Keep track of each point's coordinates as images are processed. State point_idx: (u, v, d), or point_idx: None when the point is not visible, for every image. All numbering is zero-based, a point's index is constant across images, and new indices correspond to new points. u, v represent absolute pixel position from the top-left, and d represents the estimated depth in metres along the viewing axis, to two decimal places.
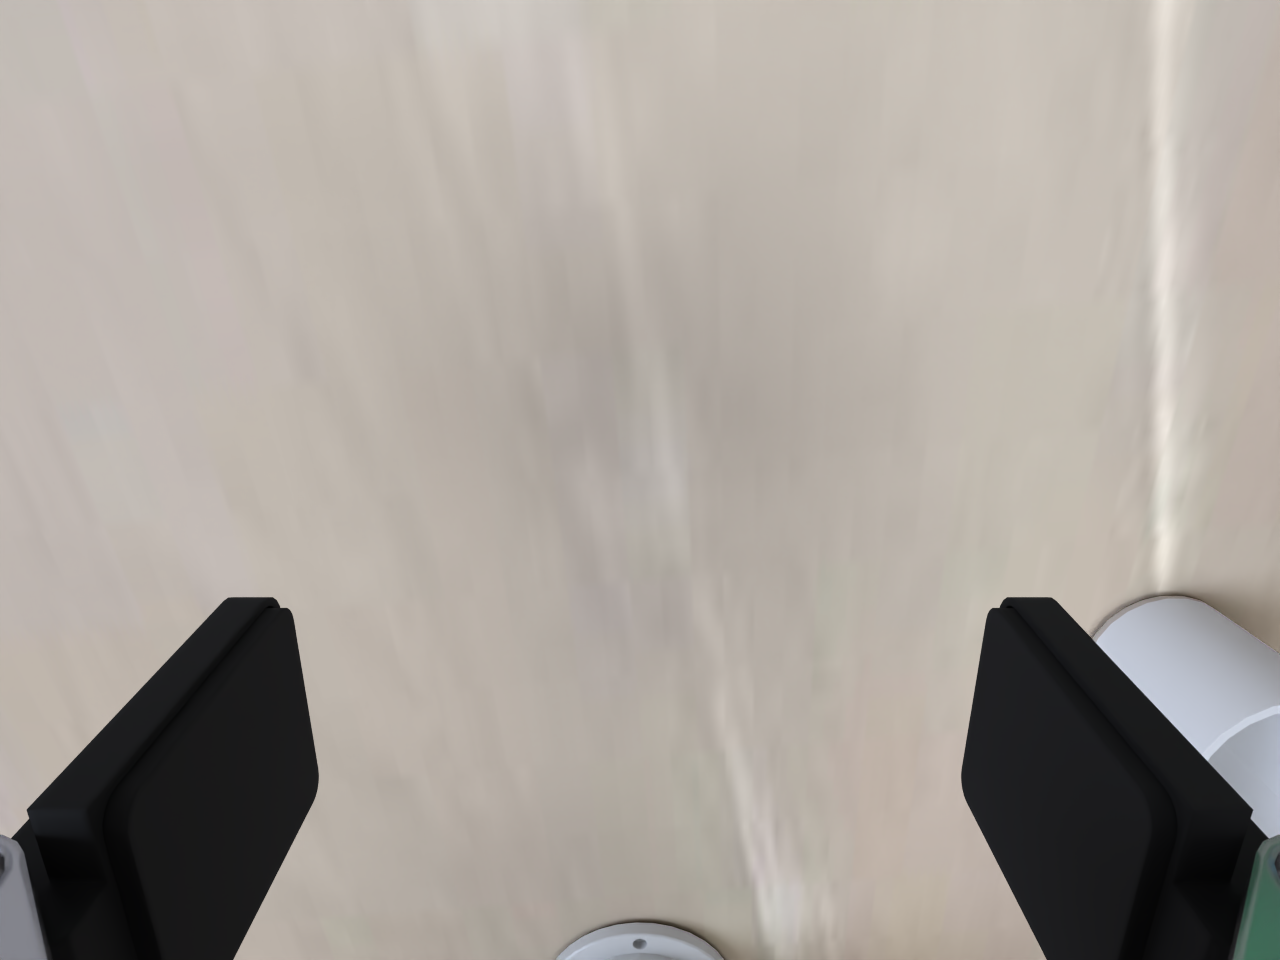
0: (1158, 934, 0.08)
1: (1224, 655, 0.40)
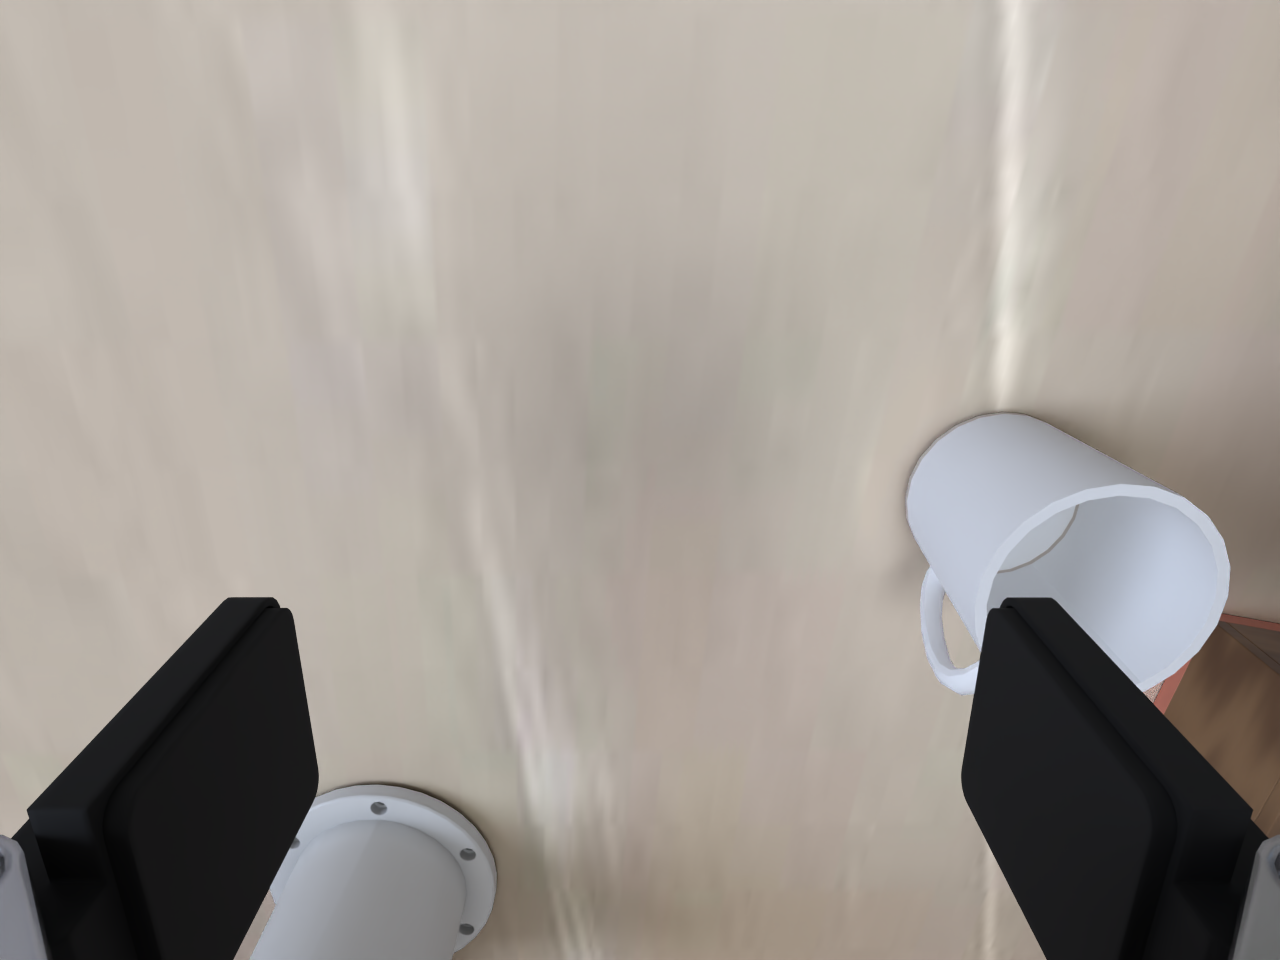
0: (1159, 934, 0.08)
1: (1048, 452, 0.32)
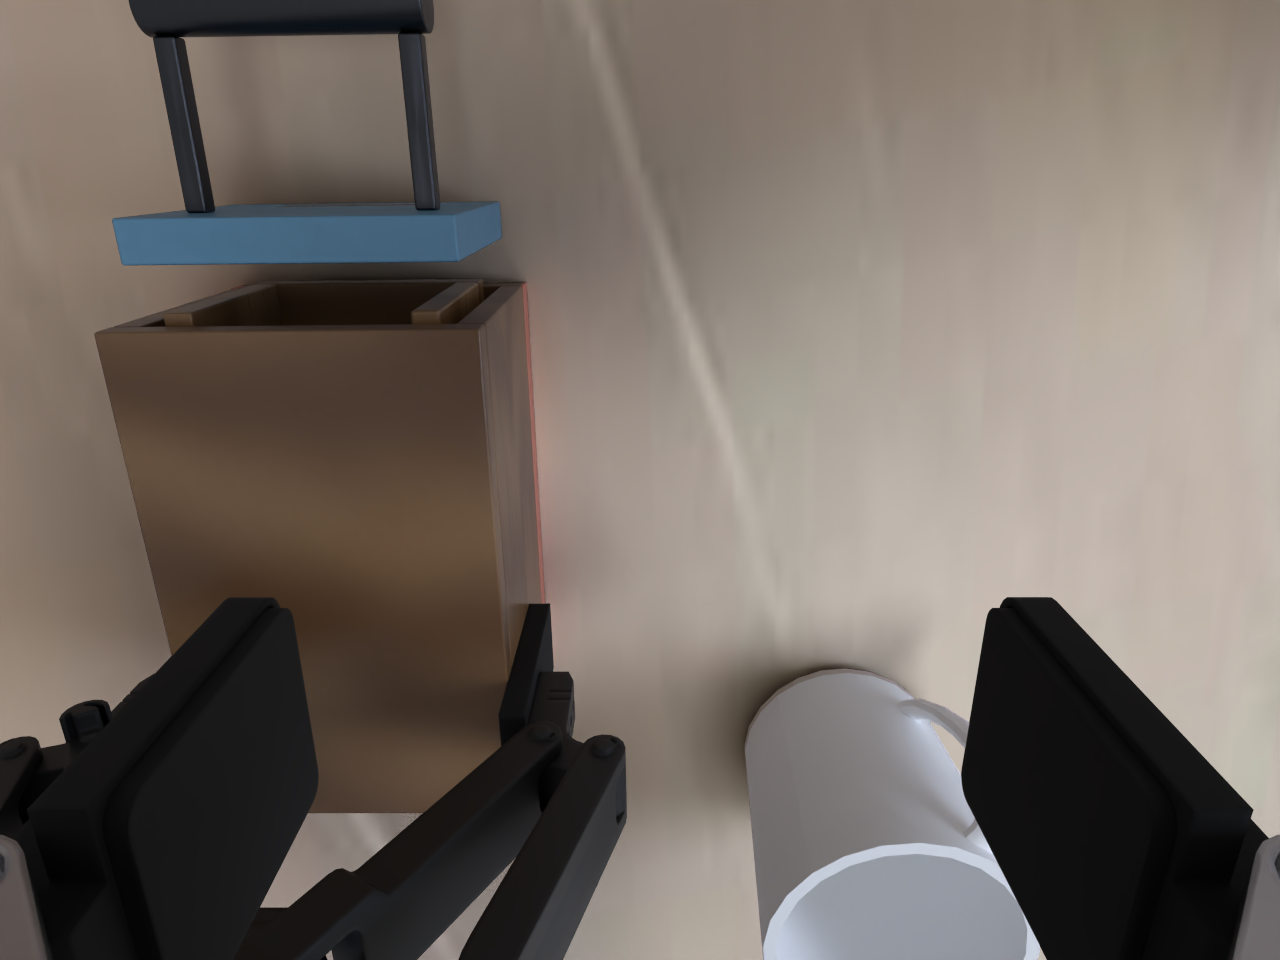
0: (1158, 934, 0.08)
1: None
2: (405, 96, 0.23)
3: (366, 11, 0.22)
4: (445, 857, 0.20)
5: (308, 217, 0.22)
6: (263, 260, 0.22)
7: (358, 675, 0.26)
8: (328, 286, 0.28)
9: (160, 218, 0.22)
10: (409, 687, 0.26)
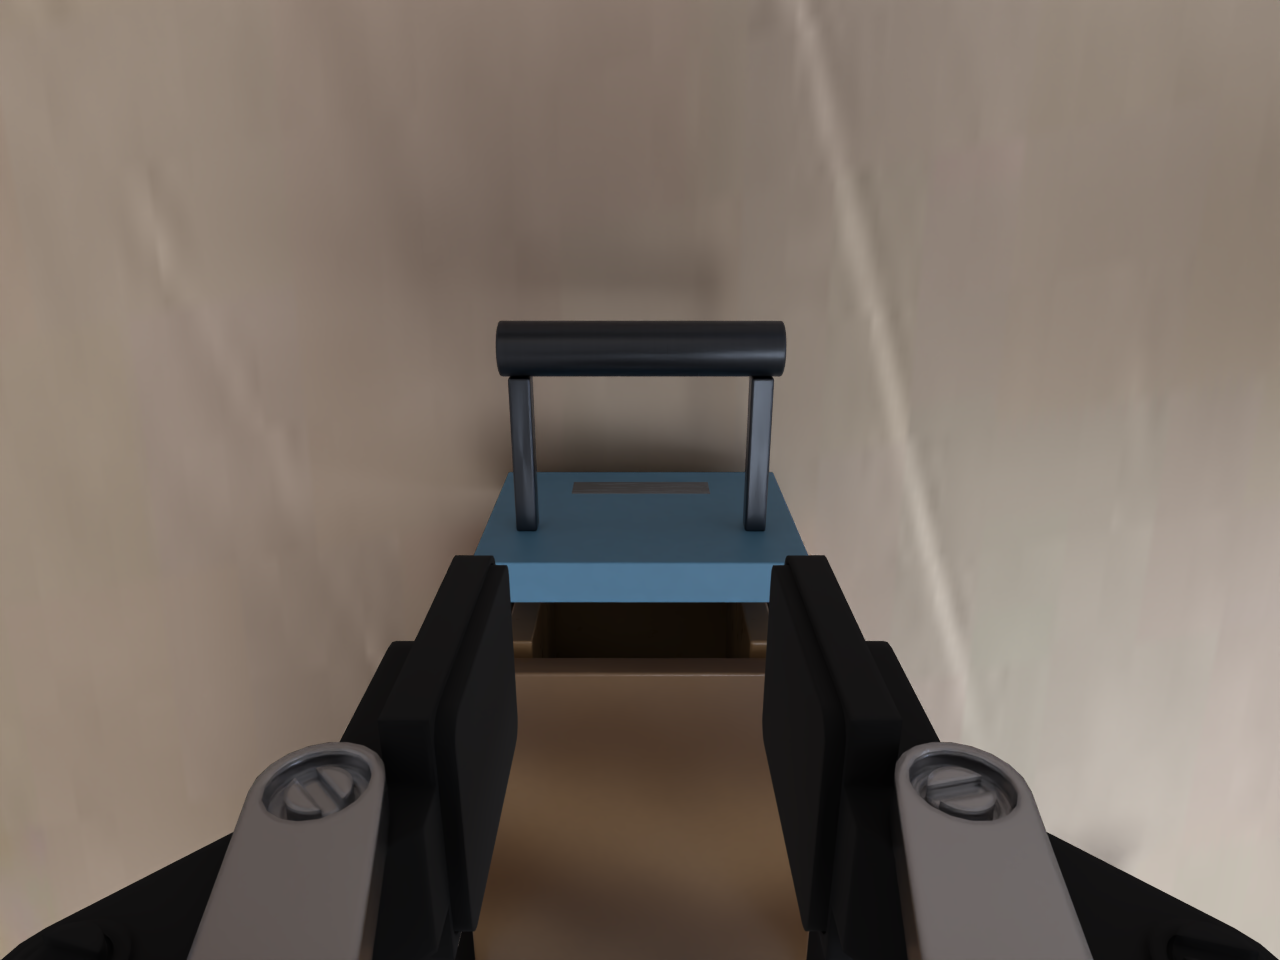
0: (840, 833, 0.09)
1: None
2: (751, 433, 0.23)
3: (729, 364, 0.22)
4: None
5: (667, 563, 0.22)
6: (616, 600, 0.23)
7: None
8: None
9: (518, 562, 0.22)
10: None
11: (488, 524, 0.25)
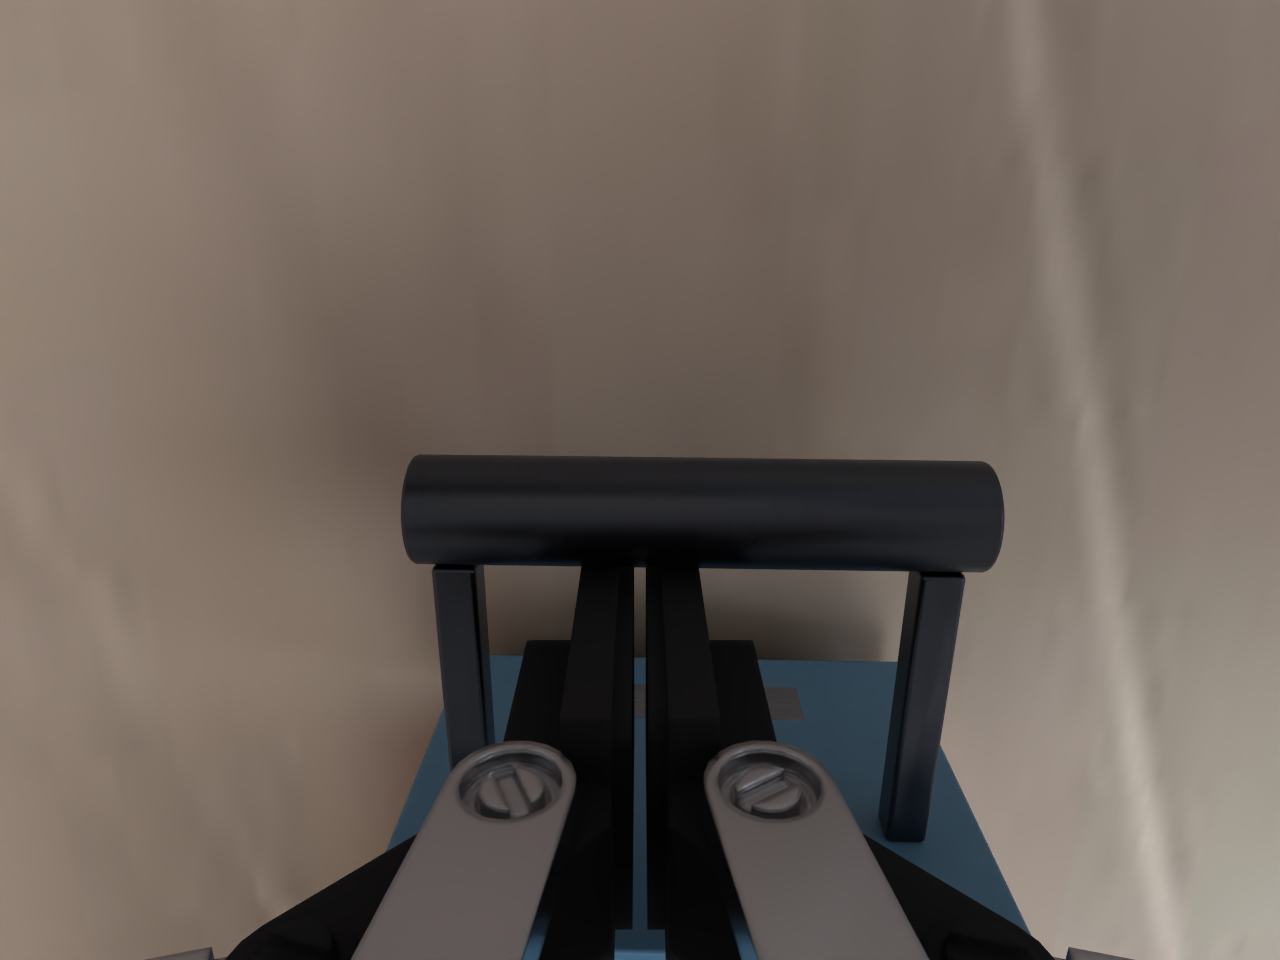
0: (668, 832, 0.09)
1: None
2: (911, 675, 0.12)
3: (881, 555, 0.11)
4: None
5: None
6: None
7: None
8: None
9: None
10: None
11: (406, 807, 0.13)
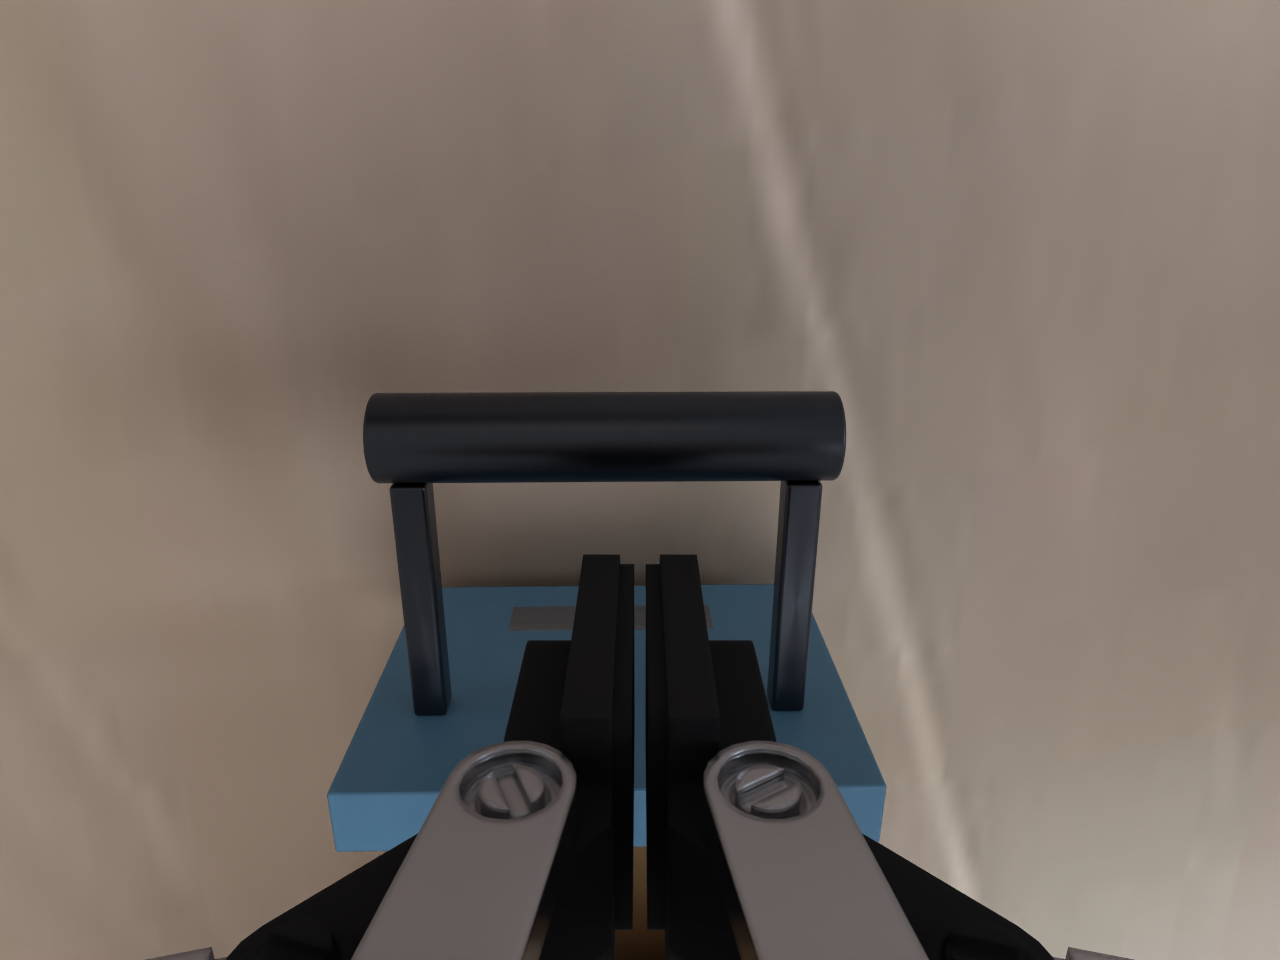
0: (668, 832, 0.09)
1: None
2: (784, 568, 0.14)
3: (752, 465, 0.13)
4: None
5: None
6: None
7: None
8: None
9: (407, 792, 0.14)
10: None
11: (372, 700, 0.16)
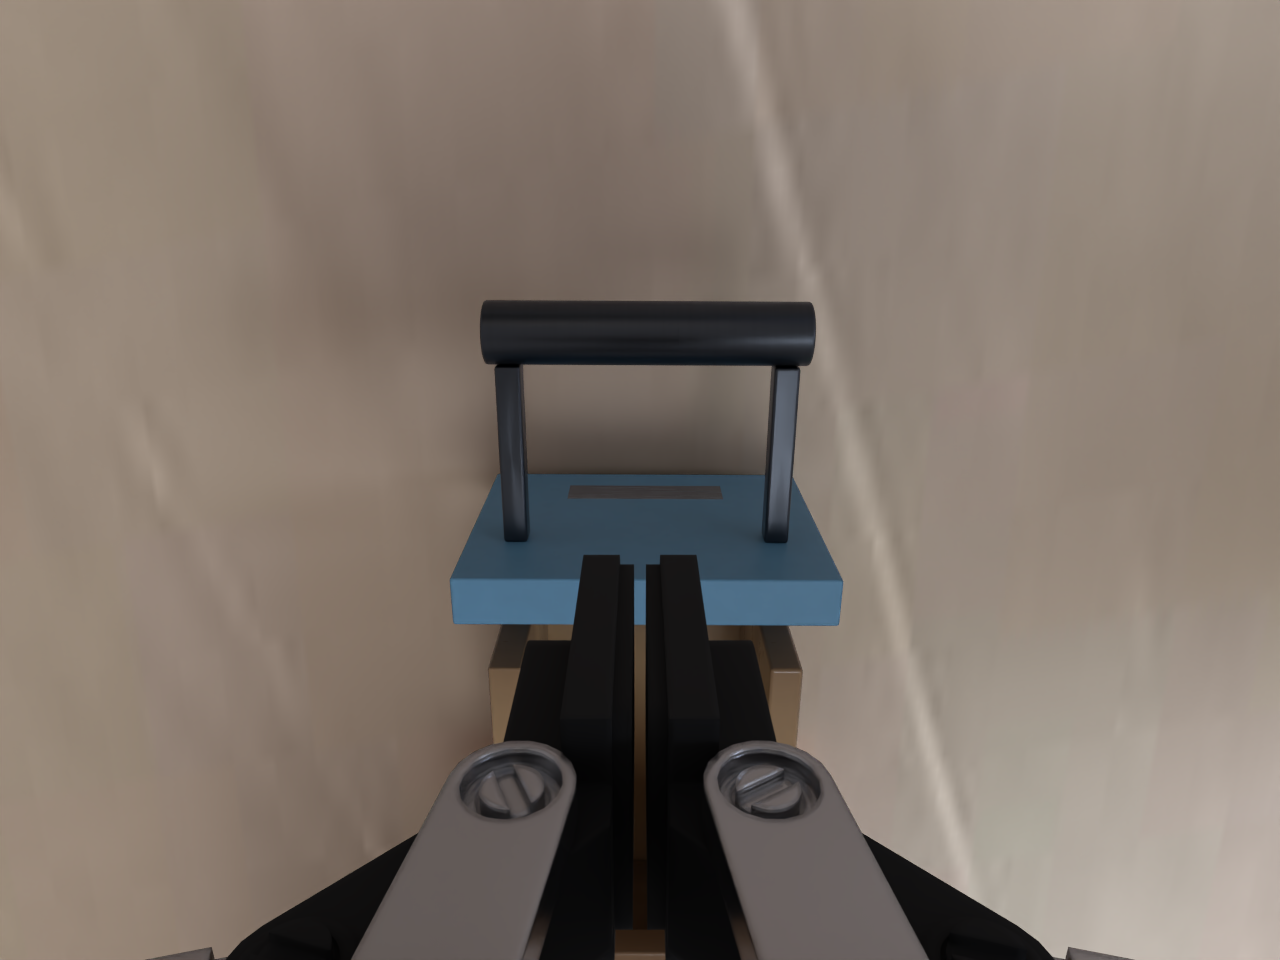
0: (668, 832, 0.09)
1: None
2: (773, 431, 0.20)
3: (749, 351, 0.19)
4: None
5: None
6: None
7: None
8: None
9: (505, 578, 0.19)
10: None
11: (472, 533, 0.22)
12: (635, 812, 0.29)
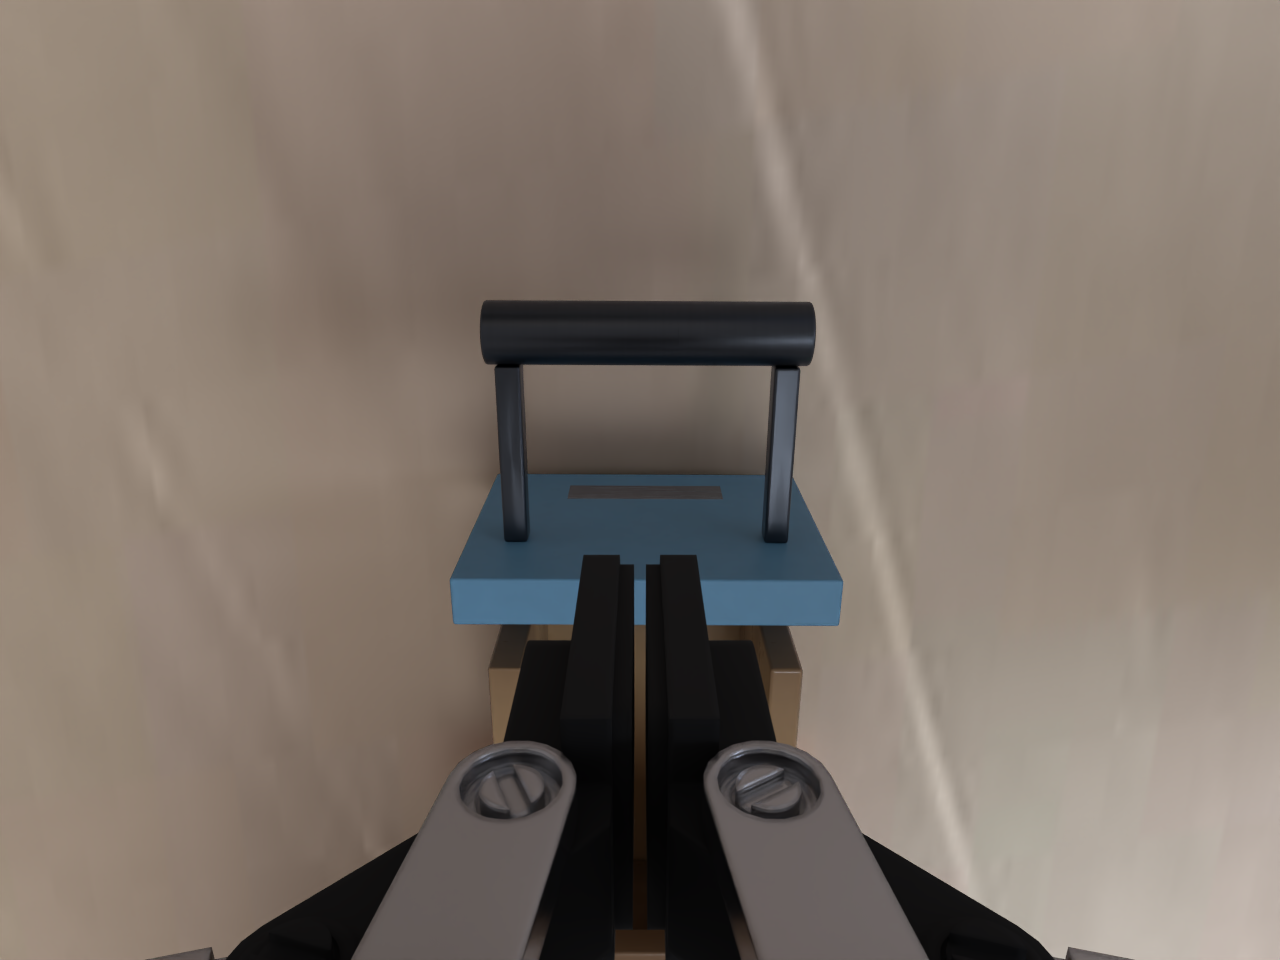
0: (668, 832, 0.09)
1: None
2: (773, 431, 0.20)
3: (749, 351, 0.19)
4: None
5: None
6: None
7: None
8: None
9: (505, 578, 0.19)
10: None
11: (472, 533, 0.22)
12: (635, 812, 0.29)
